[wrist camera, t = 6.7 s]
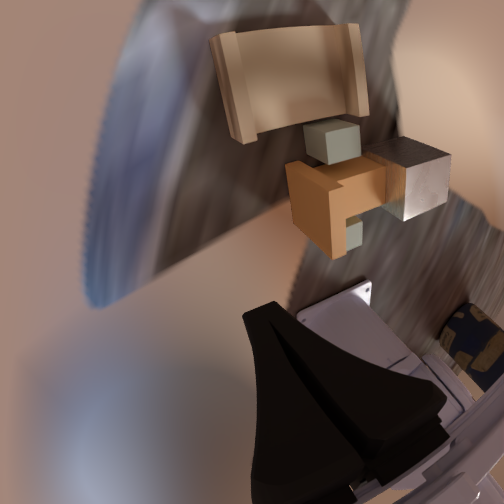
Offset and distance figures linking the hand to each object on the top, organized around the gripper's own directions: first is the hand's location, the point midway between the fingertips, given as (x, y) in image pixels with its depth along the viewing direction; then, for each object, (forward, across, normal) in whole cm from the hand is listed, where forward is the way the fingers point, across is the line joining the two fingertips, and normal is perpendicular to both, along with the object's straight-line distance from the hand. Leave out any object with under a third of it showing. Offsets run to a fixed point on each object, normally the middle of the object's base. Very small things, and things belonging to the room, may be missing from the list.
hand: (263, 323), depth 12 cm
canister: (+10, -35, +33) cm, 49 cm away
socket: (+9, -9, 0) cm, 13 cm away
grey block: (+10, -14, 0) cm, 17 cm away
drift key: (+9, -9, 0) cm, 13 cm away
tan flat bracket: (+9, -7, -8) cm, 14 cm away
